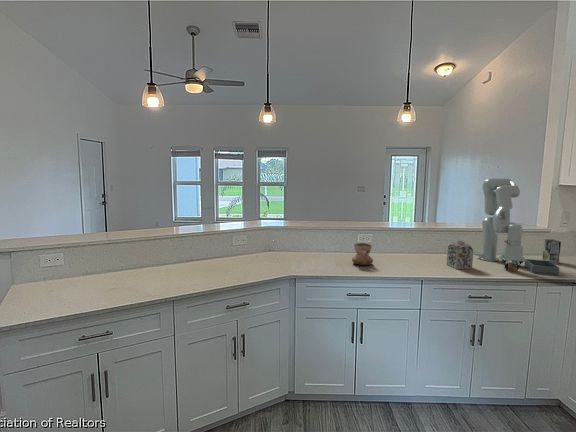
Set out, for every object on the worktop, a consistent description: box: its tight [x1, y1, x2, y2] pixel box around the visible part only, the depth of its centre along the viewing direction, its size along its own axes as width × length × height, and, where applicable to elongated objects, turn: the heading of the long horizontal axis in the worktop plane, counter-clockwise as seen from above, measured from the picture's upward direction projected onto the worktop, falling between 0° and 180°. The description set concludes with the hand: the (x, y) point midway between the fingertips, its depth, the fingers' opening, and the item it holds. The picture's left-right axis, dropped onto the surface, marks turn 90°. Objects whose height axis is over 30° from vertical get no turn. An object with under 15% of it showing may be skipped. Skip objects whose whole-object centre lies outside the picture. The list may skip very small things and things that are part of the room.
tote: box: [524, 258, 560, 276], centre depth 220 cm, size 18×14×5 cm
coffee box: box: [542, 238, 562, 265], centre depth 239 cm, size 9×6×16 cm
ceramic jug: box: [351, 242, 374, 266], centre depth 235 cm, size 18×14×14 cm
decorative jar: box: [446, 240, 474, 270], centre depth 227 cm, size 12×12×18 cm
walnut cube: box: [506, 261, 518, 273], centre depth 219 cm, size 5×5×5 cm
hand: (511, 269), depth 219 cm, fingers closed on walnut cube, 4 cm apart
